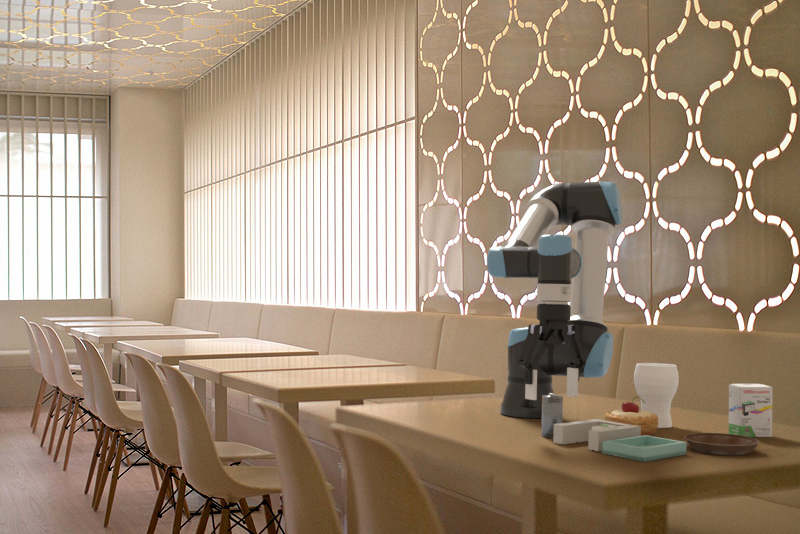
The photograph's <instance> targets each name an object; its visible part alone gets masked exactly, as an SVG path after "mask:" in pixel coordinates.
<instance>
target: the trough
mask: <svg viewBox="0 0 800 534" xmlns="http://www.w3.org/2000/svg"><path fill="white" fill-rule="evenodd" d="M601 453H603V454H602V455H607V454H608V456H612V455H614V456H613V457H617V456H619V457H618V458H622V457H624V458H623V459H627V458H628V460H632V461H637V460H638V462H642V463H644V462H651V461H657V460H663V459H668V458H674V457H680V456H685V455H687V441H681V440H678V439H670V438H663V437H658V436H654V435H653V436H647V435H643V436H636V437H629V438H622V439H615V440H608V441H603V450H602V451H601Z"/></svg>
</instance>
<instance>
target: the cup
mask: <svg viewBox="0 0 800 534" xmlns="http://www.w3.org/2000/svg"><path fill="white" fill-rule="evenodd" d="M679 377H680V375H679V371H678V368H677V365H676V364H672V363H663V362H661V363H660V362H638V363H636V364H635V369H634V373H633V385H634V387H635V391H636V394H637V395H638V396H637V397H640V398H641V399H642V400H643V401H644V402H645V403H644V402H643V401H642V400H641V399H639V400H640V408H641V411H648V412H651V413H652V414H655V415H657V416H658V427H657V429H666V428H667V429H668V428H672V427H673V423H672V415H671V406H672V401H673V399H674V397H675V395H676V393H677V391H678V387H679V381H680V379H679Z"/></svg>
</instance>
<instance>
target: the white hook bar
mask: <svg viewBox="0 0 800 534" xmlns="http://www.w3.org/2000/svg"><path fill="white" fill-rule="evenodd" d="M636 436H641V426H635V425H629V424H623V423H617V422H611V421H605V419H604V420H603V419H598V418H594V419H587V420H578V421H569V422H562V423H559V424H554V436H553V438H552V440H553V443H554V444H556V445H557V444H558V445H562V444H563V445H568V444H569V443H570V444H577V443H582V442H583V443H584V442H588V443H587V444H588V446H587V450H589V451H592V450H594V451H593V452H597V451H599V452H602V450H603V441H608V440H615V439H622V438H629V437H636ZM576 442H577V443H576Z"/></svg>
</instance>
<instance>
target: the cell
mask: <svg viewBox="0 0 800 534" xmlns="http://www.w3.org/2000/svg"><path fill="white" fill-rule="evenodd" d="M563 403H564V396H562V395H557V393H555V392H554V393H549V395H543V396H542V418H541V437H542V438H548V439H553V436H554V424H559V423H563V415H564V414H563V412H564V409H563V407H564V406H563Z"/></svg>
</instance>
